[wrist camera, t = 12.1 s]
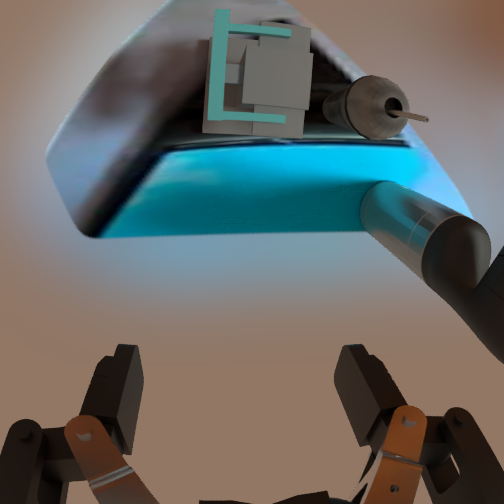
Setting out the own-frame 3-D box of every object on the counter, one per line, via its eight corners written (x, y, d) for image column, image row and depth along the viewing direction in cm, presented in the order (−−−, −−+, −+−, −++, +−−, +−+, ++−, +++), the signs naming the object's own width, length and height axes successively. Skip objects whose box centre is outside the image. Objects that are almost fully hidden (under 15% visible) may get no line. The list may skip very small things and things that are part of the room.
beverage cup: (339, 74, 38) (421, 52, 20) (370, 113, 41) (462, 120, 23) (301, 105, 40) (367, 97, 21) (335, 144, 42) (415, 167, 24)
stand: (289, 46, 36) (314, 23, 25) (281, 137, 41) (305, 144, 30) (210, 39, 35) (207, 11, 24) (202, 132, 40) (197, 136, 29)
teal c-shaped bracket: (289, 30, 26) (301, 16, 21) (283, 124, 30) (294, 125, 25) (215, 25, 25) (215, 9, 20) (208, 120, 29) (207, 120, 24)
